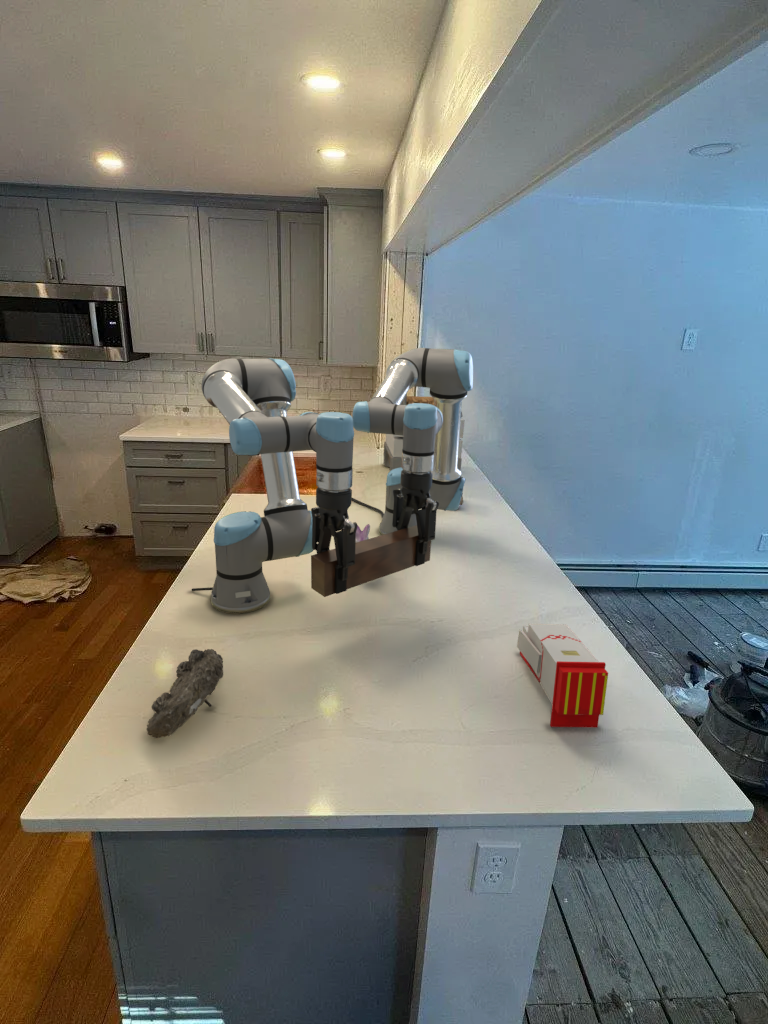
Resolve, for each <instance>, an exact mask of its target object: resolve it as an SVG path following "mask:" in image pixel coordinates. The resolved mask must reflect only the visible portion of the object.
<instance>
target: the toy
mask: <svg viewBox="0 0 768 1024" xmlns="http://www.w3.org/2000/svg"><path fill="white" fill-rule="evenodd" d="M516 648H517V649H518V651H519V655H520V657H521V658H522V659H523V662H525V664H526V665H527V667H528V668H529V670H530V671H531V673H532V674H533V676H534V678H535V679H536V680H537V681H538V683H539V684H540V686H541V688H542V690H543V691H544V693H545V695H546V697H547V699H548V700H549V701H550V703H551V713H550V715H551V716H550V723H549V726H550V727H551V728H598V727H599V720H600V716H603V715H604V711H605V703H606V695H607V687H608V680H609V679H608V678H609V672H608V671H607V670H606V662H604V661H599V660H598V659H597V657H595V655H594V654H593V653H592V652H591V651H590V650H589V649H588V648H587V646H586V645H585V644H584V643H583V642H582V641H581V639H580V638H579V637H578V636H577V635H576V634H575V632H574V631H573V630H572V629H571V628H570V627H569V625H568V624H567V623H566V624H565V623H528V625H523V626H522V629H519V630H518V636H517V643H516Z"/></svg>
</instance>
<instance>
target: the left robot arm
mask: <svg viewBox="0 0 768 1024" xmlns="http://www.w3.org/2000/svg"><path fill="white" fill-rule="evenodd" d="M296 388H297V383H296V379H295V375H294V372H293V369H292V367H291V366H290V364H289V363H288V362H287V361H285V360H284V359H281V358H272V357H267V358H226V359H222V360H220V361H218V362H215V363H214V364H213V365H211V366H210V367H209V368H208V369H207V370H206V371H205V373H204V374H203V377H202V379H201V392H202V395H203V397H204V399H205V400H206V402H207V403H208V404H209V405H210V406H212V407H214V408H215V409H217V410H218V412H220V414H221V415H222V416H223V418H224V419H225V421H226V422H227V423H228V425H229V426H228V427H229V428H228V437H229V438H228V439H229V444H230V446H231V450H232V452H233V453H234V454H235V455H238V456H257V455H260V460H261V465H262V472H263V477H264V478H263V479H264V484H265V485H264V486H265V491H266V498H267V505H266V506H265V508H264V509H263V516H260V514H259V513H258V512H255V511H237V512H232V513H229V514H227V515H224V516H222V517H221V518H220V519H218V520H217V521H216V522H215V525H214V528H213V529H214V531H213V543H214V554H215V556H214V557H215V568H216V570H215V571H216V575H215V579H214V583H213V586H212V587H195V588H191V592H200V591H201V592H203V591H211V593H210V603H211V606H212V607H213V608H214V609H216V610H217V611H220V612H222V613H226V614H246V613H247V614H248V613H251V612H254V611H258V610H260V609H262V608H264V607H265V606H266V605H268V603H269V602H270V600H271V590H270V587H269V584H268V582H267V580H266V576H265V575H264V572H263V563H264V562H271V561H275V560H276V561H277V560H283V559H288V558H298V557H300V556H304V555H309V554H311V553H312V552H313V551H316V554H318V553H322V552H325V551H329V550H331V549H330V547H331V541H332V537H333V542H334V543H333V544H334V549H335V550H336V557H337V564H338V565H335V595H338V594H341V593H344V592H346V591H347V590H346V588H347V578H348V567H350V566H353V565H355V544H356V530H357V526H359V525H358V523H357V522H356V521H355V522H352V521H351V520H350V517H349V513H348V510H349V508H350V507H352V502H353V501H352V498H353V490H352V487H353V471H354V470H353V469H354V468H353V460H354V437H355V429H354V427H353V418H352V415H351V414H349V413H345V412H340V411H324V412H320V413H318V412H313V411H305V412H302V413H300V414H299V415H288V411H289V410H290V409H291V408H292V402H293V401H294V400H295V398H296V397H297V390H296ZM304 451H305V452H306V451H313V452H315V461H316V462H315V468H316V478H315V479H316V480H315V481H316V483H315V484H316V487H317V488H315V504H316V506H315V507H312V508H311V509H310V510H309V509H308V504H307V503H306V502H305V501H303V500H302V498H301V495H300V488H299V483H298V477H297V470H296V463H295V457H294V452H304Z"/></svg>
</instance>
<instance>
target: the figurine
mask: <svg viewBox="0 0 768 1024" xmlns="http://www.w3.org/2000/svg"><path fill="white" fill-rule="evenodd" d="M370 530H371V525H370V523H367V524H366V525H365V527H364V528H363V530H362V529H361V528H360V526H359V525H358V526H357V530H356V542H360V541H363V540H367V539H370V538H369V534H370Z"/></svg>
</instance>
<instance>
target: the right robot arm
mask: <svg viewBox="0 0 768 1024" xmlns="http://www.w3.org/2000/svg"><path fill="white" fill-rule="evenodd" d="M473 386H474V363H473V357H472V354H471V353H470V352H469V351H467V350H461V349H457V348H429V347H416V348H412V349H409V350H407V351H404V352H402V353H401V354H399V355H398V356H396V357H395V358H394V359H393V360H391V362H390V363H389V365H388V366H387V368H386V373H385V377H384V379H383V380H382V382H381V383H380V385H379V387H378V388H377V389H376V391H375V392H374V394H373V396H372V397H371V399H370V400H369V401H366V400H364V401H357V402H355V404H354V405H353V409H352V415H351V417H352V418H353V429H354V431H357V432H361V433H362V432H364V433H367V434H379V435H380V434H381V435H382V434H383V435H386V434H393V435H402V436H403V449H402V466H401V468H396V469H393V470H391V471H390V470H389V472H388V473H387V475H386V482H385V504H384V505H385V507H384V508H385V509H384V511H383V510H381V509H379V508H377V507H374V506H372V505H370V504H367V503H365V502H363V501H360V500H358V499H356V498H353V497H352V502H355V503H357V504H359V505H361V506H363V507H366V508H367V509H370V510H373V511H376V512H378V513H380V515H381V518H382V519H381V522H379V526H378V533H379V534H380V536H381V535H384V534H388V533H391V532H395V531H398V530H402V529H405V528H408V527H412V526H415V525H417V529H418V537H419V540H417V541H416V551H415V566H414V567H419V566H422V565H424V564H425V563H426V562H425V553H427V546H428V541H431V542H432V541H434V540H435V539H436V529H437V526H436V525H437V512H438V510H442V511H445V512H446V511H451V512H455V511H457V510H458V509H459V508H460V505H459V504H460V500H461V496H462V497H463V495H462V493H464V492H463V491H464V486H465V483H466V478H465V477H463V476H462V470H461V471H460V470H459V469H458V468H457V462H458V447H459V433H460V419H461V418H462V417H461V412H462V403H463V400H464V399H465V398H467V396H468V392H470V391H472V390H473ZM415 387H416V388H428V389H429V395H430V397H433V398H434V405H431V404H425V403H412V404H408V405H401V403H402V401H403V399H404V397H405V395H406V394H408V393H409V390H411V389H413V388H415Z"/></svg>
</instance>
